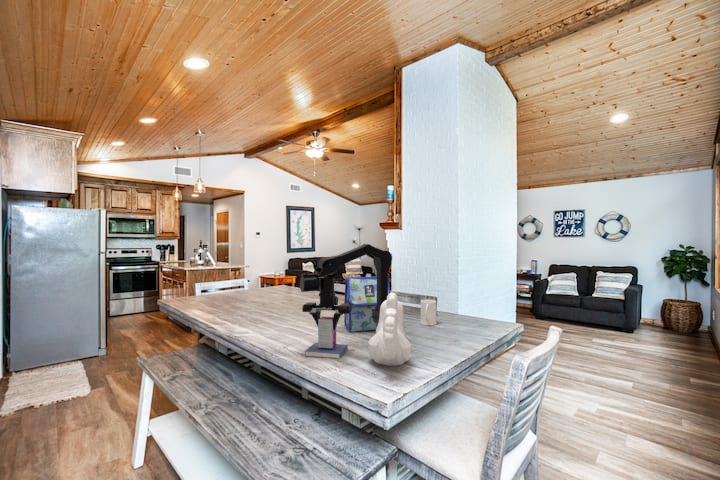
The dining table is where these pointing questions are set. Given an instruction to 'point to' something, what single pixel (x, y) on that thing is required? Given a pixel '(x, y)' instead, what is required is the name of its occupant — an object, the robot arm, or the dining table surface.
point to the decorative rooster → (390, 335)
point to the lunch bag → (361, 303)
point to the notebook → (327, 351)
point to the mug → (428, 312)
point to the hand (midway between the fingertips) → (327, 329)
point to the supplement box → (326, 333)
